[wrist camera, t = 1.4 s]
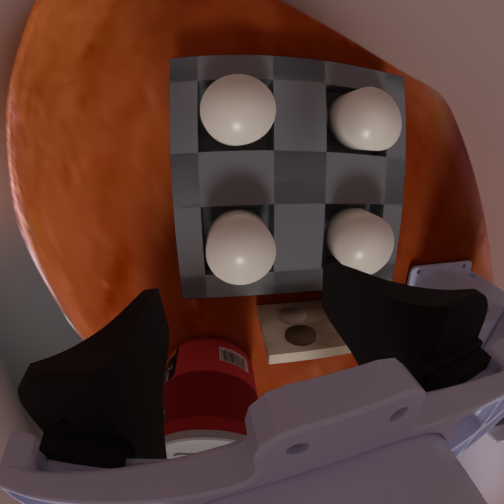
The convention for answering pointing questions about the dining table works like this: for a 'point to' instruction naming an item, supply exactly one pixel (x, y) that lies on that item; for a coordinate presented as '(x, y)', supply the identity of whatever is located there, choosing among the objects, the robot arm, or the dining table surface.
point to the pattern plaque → (298, 332)
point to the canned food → (206, 395)
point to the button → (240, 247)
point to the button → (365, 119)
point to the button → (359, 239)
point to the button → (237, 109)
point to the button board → (277, 169)
